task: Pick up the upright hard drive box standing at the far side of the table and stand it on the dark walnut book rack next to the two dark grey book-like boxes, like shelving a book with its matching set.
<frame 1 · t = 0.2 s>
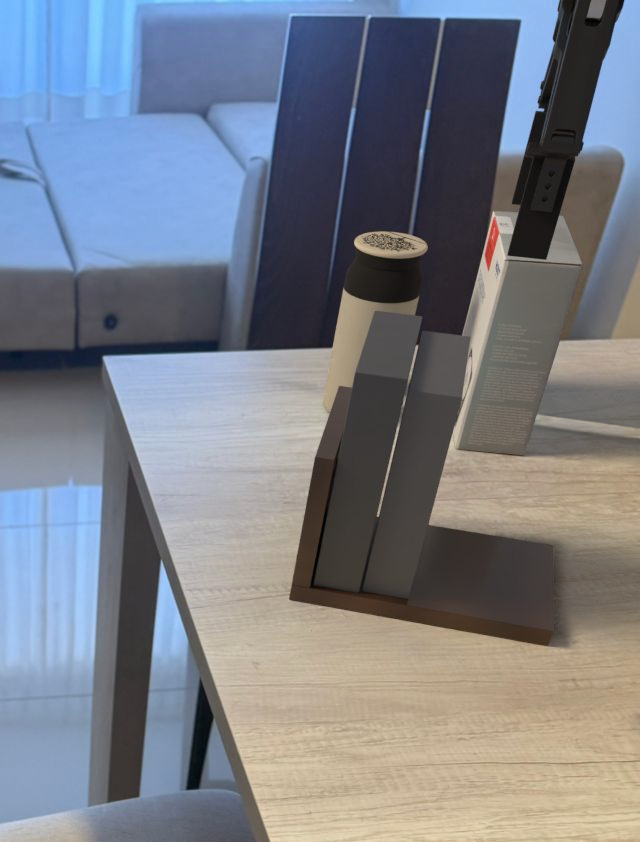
hand: (527, 229, 89), 29 cm above the table, tool pointing down, fingers open, 13 cm apart
grey books: (391, 457, 99), point 11 cm above the table
book rack: (422, 578, 105), on the table
hard drive box: (483, 425, 130), on the table
travel mug: (356, 410, 132), on the table
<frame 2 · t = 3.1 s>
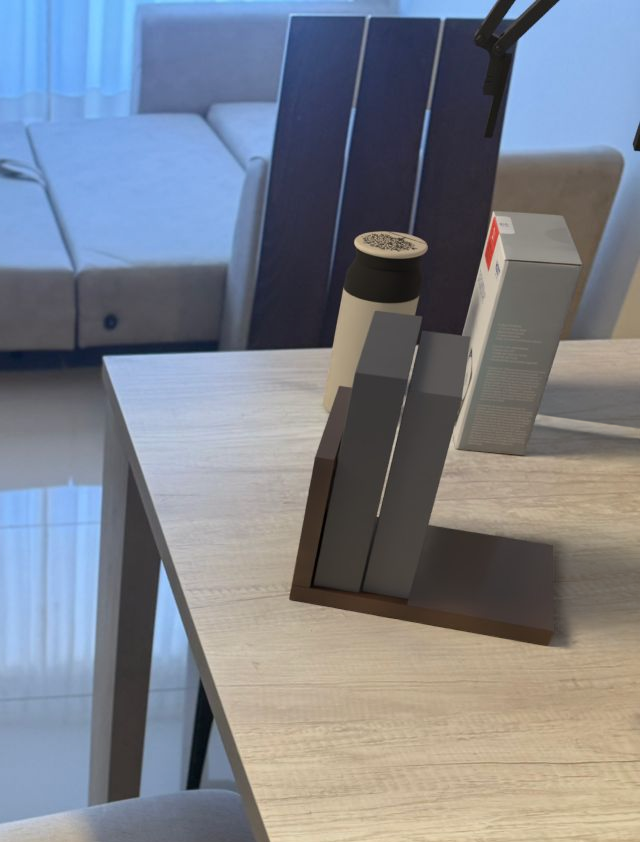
hand: (561, 141, 110), 28 cm above the table, tool pointing down, fingers open, 13 cm apart
nothing on the table moved.
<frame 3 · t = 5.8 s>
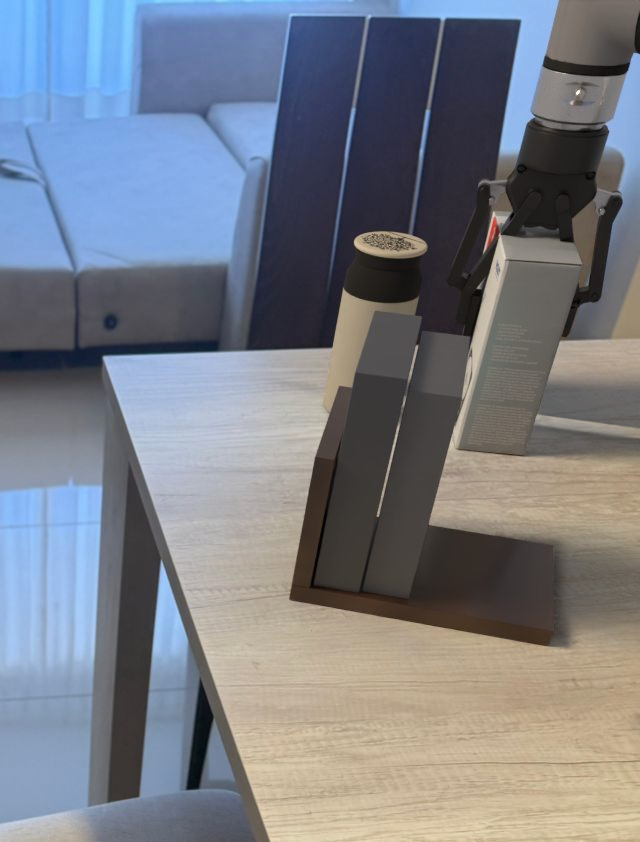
hand: (502, 359, 125), 7 cm above the table, tool pointing down, fingers closed on hard drive box, 8 cm apart
hard drive box: (483, 425, 130), on the table, touching gripper
everything else where it was.
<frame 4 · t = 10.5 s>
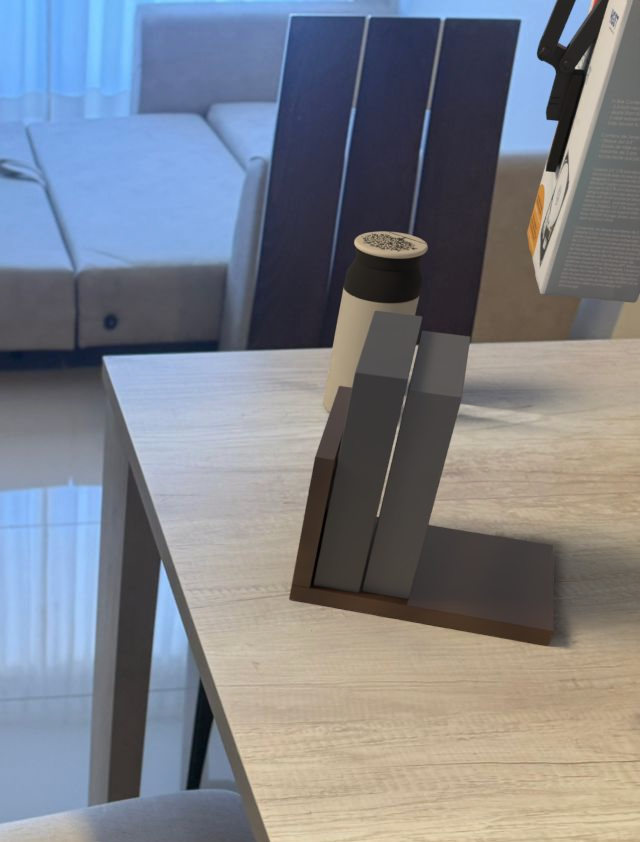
hand: (607, 173, 91), 31 cm above the table, tool pointing down, fingers closed on hard drive box, 8 cm apart
hard drive box: (576, 271, 96), point 24 cm above the table, touching gripper
everything else where it was.
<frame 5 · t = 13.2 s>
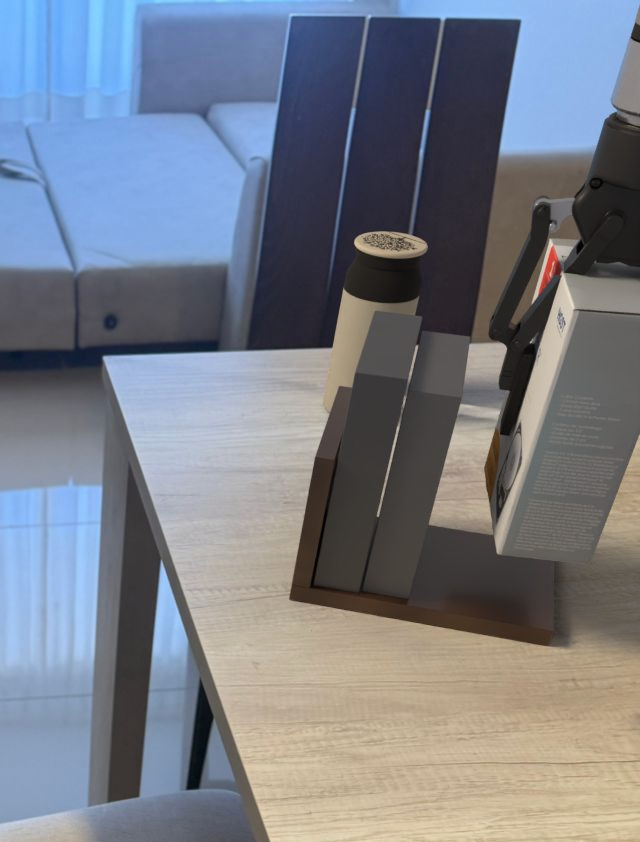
hand: (559, 436, 93), 15 cm above the table, tool pointing down, fingers closed on hard drive box, 8 cm apart
hard drive box: (532, 518, 98), point 7 cm above the table, touching gripper
everything else where it was.
when the fingers open (9 cm above the table, at t = 15.4 s): hard drive box stays where it is, resting on book rack.
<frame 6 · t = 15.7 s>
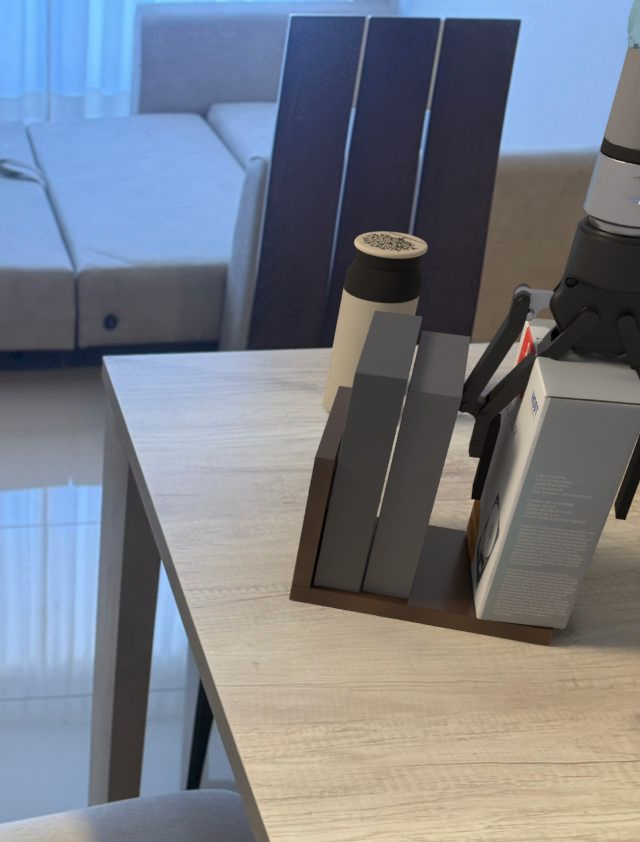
hand: (546, 502, 97), 9 cm above the table, tool pointing down, fingers open, 11 cm apart
hard drive box: (511, 580, 103), point 1 cm above the table, touching book rack
everything else where it was.
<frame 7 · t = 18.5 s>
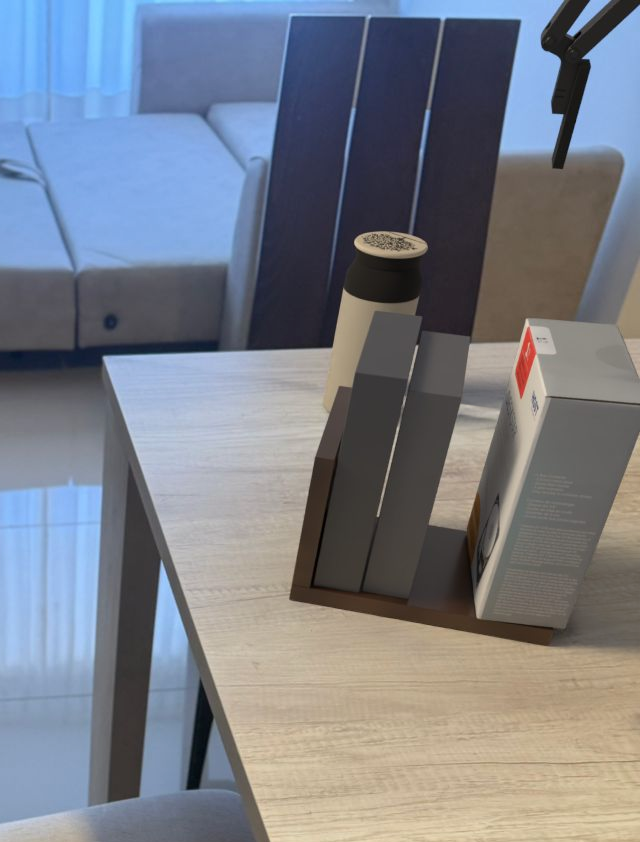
nothing on the table moved.
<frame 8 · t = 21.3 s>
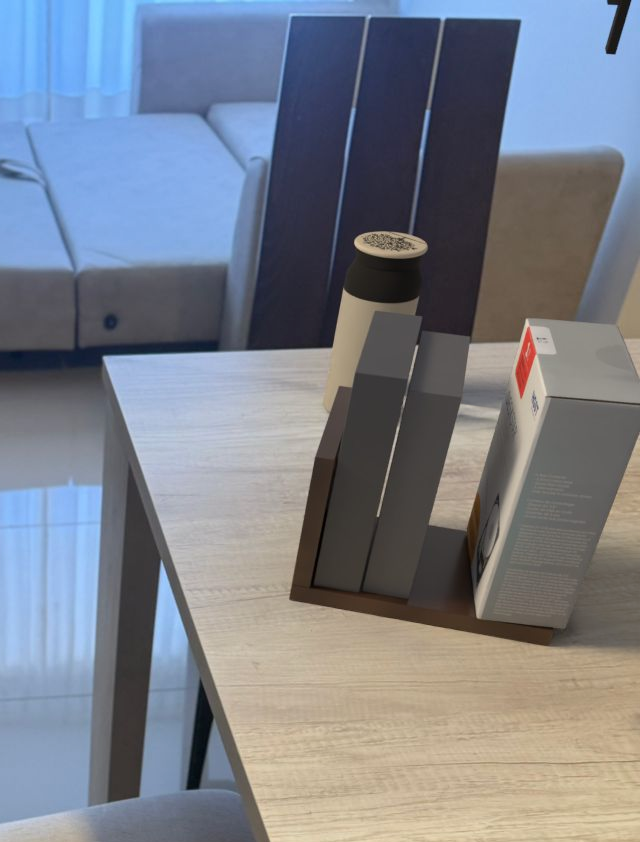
nothing on the table moved.
at the end: hard drive box inside the target area on the book rack (0.0 cm from its centre), point 1.3 cm above the book rack's base; hard drive box tilted 0°; the gripper is holding nothing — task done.
